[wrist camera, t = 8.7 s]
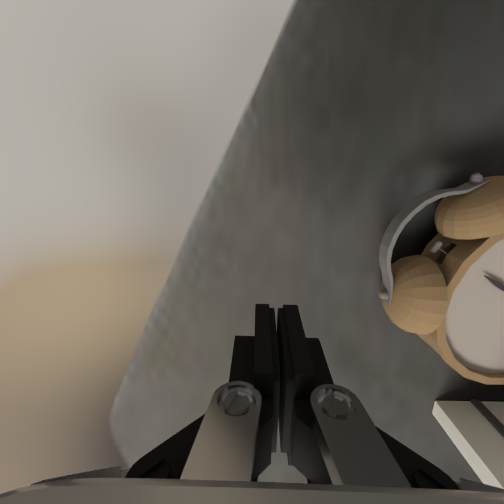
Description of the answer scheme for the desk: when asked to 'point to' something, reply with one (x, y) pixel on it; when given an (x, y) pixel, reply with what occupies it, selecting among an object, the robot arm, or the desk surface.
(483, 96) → the desk surface
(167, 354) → the desk surface
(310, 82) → the desk surface
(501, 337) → the alarm clock
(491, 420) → the board
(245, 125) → the desk surface
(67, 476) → the robot arm
